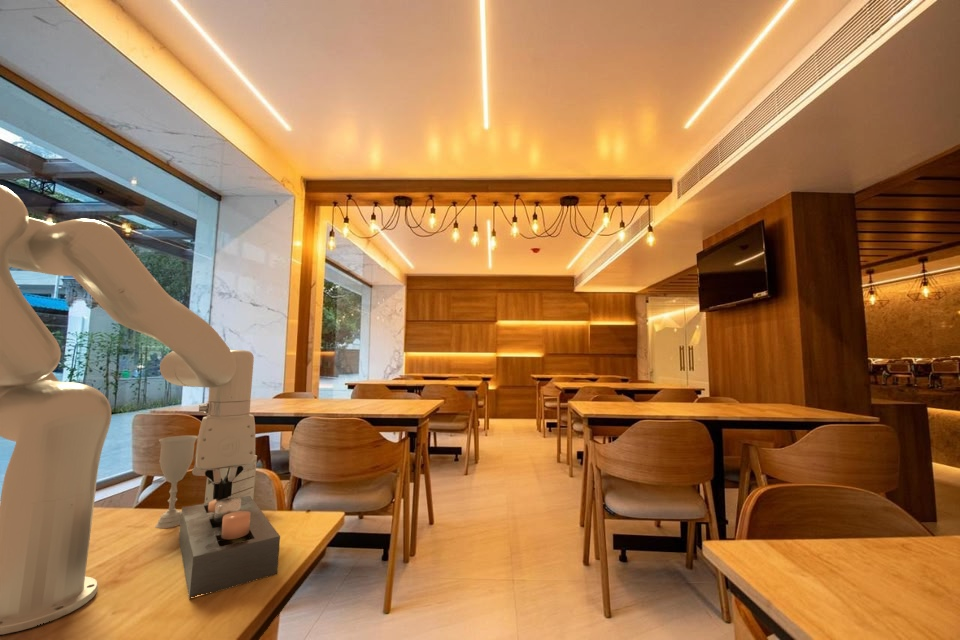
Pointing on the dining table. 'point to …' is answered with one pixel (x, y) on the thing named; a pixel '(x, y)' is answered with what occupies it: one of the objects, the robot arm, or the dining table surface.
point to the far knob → (211, 506)
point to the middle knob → (226, 507)
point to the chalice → (174, 472)
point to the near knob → (235, 525)
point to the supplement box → (235, 483)
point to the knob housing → (225, 550)
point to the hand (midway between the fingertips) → (221, 501)
